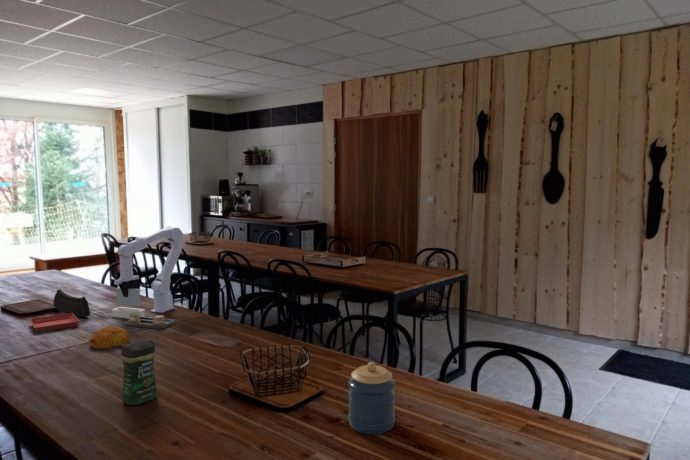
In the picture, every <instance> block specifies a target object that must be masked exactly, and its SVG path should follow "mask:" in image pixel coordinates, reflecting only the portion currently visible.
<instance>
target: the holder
mask: <svg viewBox="0 0 690 460" xmlns="http://www.w3.org/2000/svg"><path fill="white" fill-rule="evenodd" d="M110 312H111V316H110V317H112V318H119V319H127V320H128V319H129V314H132V313H140V316H142V317H147V313H146V309H145V308H135V307H124V306H118V307H115V308H111V311H110Z"/></svg>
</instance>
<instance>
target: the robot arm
mask: <svg viewBox="0 0 690 460" xmlns="http://www.w3.org/2000/svg"><path fill="white" fill-rule="evenodd" d="M161 239H166V240H168V241H169V244H170V246H171V247H170V250H169V251H168V254H167V256H166V258H165V260H164V264H163V266H162V268H161V271H160V273H159V274H158V275H156V277H155V279H154V280H153V281H152V282H151V285H150V287H151V288H150V289H151V290H152V291H153V296H152V297H153V309H151V310H150V312H154V313H163V314H164V313H166V312H167V311H168V312H169V311H170V310H174V309H175V307H174V303H173V302H174V301H173V300H174V299H173V294H172V293H171V292H170V289H171V286H170V285H171V283H172V282H171V276H172V274H173V271H174V269H175V267H176V265H177V261H178V259H179V258H180V255H181V252H182V250H183V248H184V233H183V231H182V229H181V228H179V227H173V226H166V227H164V228H161V229H160V230H158V231H155V232H154V233H152V234H150V235H148V236H147V237H144V238H143V237H136V238H135V239H134V240H132V241H130V242H126V244H121V245H119V247H118V248H117V251H116V253H117V254H118V255H119V274H120V275H119V276H120V277H118V279H115V280H114V281H113V283H114V286H115V285H116V286H118V288H119V287H120V289H121V291H122V294H123V297H128V288H134V289H135V286H136V284H137V281H136V280H140V275H138V274H137V275H134V270H133V267H134V266H133V256H134V254H135V253H137V252H140V251H142V250H144V249H146V248H147V246H148V245H149V244H151V243H153V242H155V241H158V240H161Z"/></svg>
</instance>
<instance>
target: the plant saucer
mask: <svg viewBox="0 0 690 460" xmlns="http://www.w3.org/2000/svg"><path fill="white" fill-rule="evenodd" d="M29 321H30V322H31V324H32V326H33V329H34V330H36V331H37V333H43V332H50V331H55V330H61V329H68V328H74V327H76V326H77V325H78V323H79V322H80V320H79V318H78V316H75V315H74V314H73V313H68V314H66V313H61V314H55V315H47V316H41V317H33V318H30V319H29Z"/></svg>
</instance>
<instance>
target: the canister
mask: <svg viewBox="0 0 690 460" xmlns="http://www.w3.org/2000/svg"><path fill="white" fill-rule="evenodd" d="M347 383H348V387H349V391H348V394H347V396H348V418H347V420H348V422H349V427H350V428H351V429H353V430H354V431H355V432H358V433H361V434H366V435H380V434H383V433H384V434H385V433H387V432H389V431H391V430H392V429H393V427H394V426H395V421H396V415H395V399H396V394H395V391H394V389H395V387H396V381H395V380H394V379H393V374H392V372H391V371H390V370H388V369H387V368H386V367H383V366H382V365H377V364H376V363H375V362H373V361H370V362H368V363H367V364H365V365H361V366H359V367H357V368H356V369H355V370H353V371H352V372H351V377H350V379H348V381H347Z"/></svg>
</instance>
